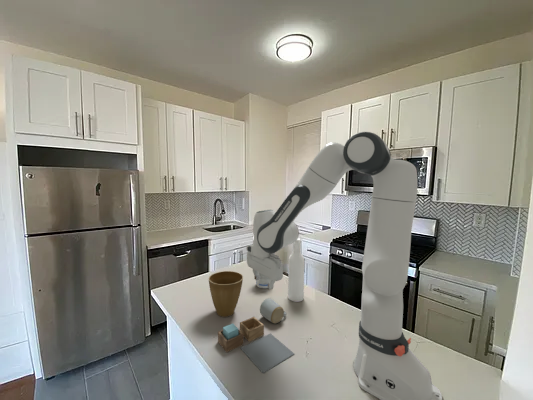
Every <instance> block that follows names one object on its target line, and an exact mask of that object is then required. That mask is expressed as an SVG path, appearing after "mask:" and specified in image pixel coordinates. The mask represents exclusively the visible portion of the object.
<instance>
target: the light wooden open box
mask: <svg viewBox="0 0 533 400" xmlns="http://www.w3.org/2000/svg"><path fill="white" fill-rule="evenodd" d="M239 330H240V331H241V332H242V333H243V338H245V339H246V341H248V342H249V343H251V342H253V340H254V341H255V339H256V340H257V339H259V338H261V337H263V336H264V335H265V325H264V323H262V322H261V321H260V320H259V319H258V318H256V317H255V316H252V317H249V318H248V319H245V320H242V321H241V322H239Z"/></svg>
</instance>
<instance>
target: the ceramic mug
mask: <svg viewBox="0 0 533 400" xmlns="http://www.w3.org/2000/svg"><path fill="white" fill-rule="evenodd" d="M259 312H260V315H261V316H262V317H263V318H265V319H266V320H268V321H269V322H270V323H272V324H278V323H280V322H281V321H282V320H283V318H286V315H287V312H286V311H285V310H284V308H283V307H282V305H280V304H279V303H277V302H276V301H275V300H274V299H272V298H271V297H270V298H269V297H268V298H265V299H264V300H263V301H262V302H261V303H260V307H259Z"/></svg>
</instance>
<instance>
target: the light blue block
mask: <svg viewBox="0 0 533 400" xmlns="http://www.w3.org/2000/svg"><path fill="white" fill-rule="evenodd" d="M238 329H239V328H238V327H237V326H236V324H234V323H230V324H228V325H225V326H223V327H222V330H223V336H224V337H225V338H226V339H227V340H229V339H231V338H233V337H236V336H238Z"/></svg>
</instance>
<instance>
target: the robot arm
mask: <svg viewBox="0 0 533 400" xmlns="http://www.w3.org/2000/svg"><path fill="white" fill-rule="evenodd" d="M349 171H354V172H355V171H356V172H358V173H361V174H364V175H365V174H366V175H368V176H371V178H372V181H373V182H372V183H373V185H372V186H373V188H372V195H371V203H370V209H369V210H370V211H369V216H368V222H367V223H368V224H367V229H366V236H365V237H366V238H365V245H364V251H363V258H362V265H361V272H362V273H361V274H362V289H361V291H362V293H361V307H360V309H361V310H360V320H359V323H358V324H359V325H358V338H359V341H358V347H357V351H356V355H355V359H354V361H353V365H352V366H353V370H354V373H355V374H356V376H357V379H358V381H357V382H358V383H357V384H358V387H359V388H360V389H362V390H364V392H367V393H369V394H370V395H372V396H373V397H375V398H377V399H379V400H443V394H442V391H441V390H440V389H439V388H438V387H437V386H436V385H435V384H434V383H433V380H432V375H431V373H430V371H429V369H428V368H427V367H426V366H425V365H424V364H423V362H421V360H420V359H419V358H418V357H417V356H416V355H415V353H414V352H413V351H412V350H411V349H410V348H409V346H410V344H411V343H412V338H411V337H409V338H408V339H407V338H406V337H405V334H404V332H403V318H404V315H403V314H404V298H403V297H404V295H403V294H404V293H403V292H404V288H405V286H406V284H407V281H408V276H409V266H410V256H411V255H410V254H411V243H412V231H413V230H412V228H413V222H414V217H415V216H414V215H415V209H416V203H417V197H418V195H417V194H418V173H417V172H418V171H417V167H416V166H415V165H414V164H413V163H411V162H410V161H407V160H403V159H395V158H393V157H392V156H391V150H390V149H389V146H388V144H387V142H386V141H385V140H384V139H383V138H382V137H380V136H379V134H377V133H374V132H371V131H362V132H358V133H355V134H353V135H351V136H350V137H349V138H348V139H347V140H346V142H345V144H342V143H338V142H329V143H326V144H325V145H324V146H323V147H322V149H321V150H319V152H318V153H317V154H316V156H314V158H313V160H312V161H311V162H310V163H309V166H307V168H306V170H305V172H304V173H303V175H302V176H301V177H300V179H299V181H298V182H297V184H296V185H295V187H293V189H292V191H291V192H290V193H289V194H288V196H286V198H285V199H284V200H283V202H282V203H281V204H280V206H279V208H278V209H276V211H275V210H274V209H265V210H259V211H257V212H256V213H254V217H253V223H252V226H253V227H252V232H253V233H252V234H253V242H252V244H250V245H246V251H247V252H246V264H247V267H249V268H251V269H252V273H253V276H254V277H253V278H254V279H253V280H255V281H256V280H259V279H260V276H259V274H258V272H259V273H261V274H263V275H264V276H266V277H268V278H269V281H270V283H268V288H267V289H269V290H272V289H274V287H275V285H274V284H275V283H276V282H278V281H279V282H280V281H281V280H282V279H283V277H284V270H283V263H282V260H281V259H280V257H279V255H276V253H277V252H278V251H280V250H281V249H283V248H286V247H288V246H290V245H293V242H295V241H296V240H297V238H299V234H300V232H299V227H298V225H297V224H296V223H295V220H296V219H297V217H298V215H300V213H301V212H303V211H304V210H305V209H306V208H308V207H310V206H312V205H314V204H316V203H318V202H320V201H323V200H325V198H326V197H327V196H329V195H330V193H332V192H333V190H334V189H335V188H336V187H337V185H338V183H339V182H340V180H341V179H342V177H343V176H344V175H346V173H348V172H349Z"/></svg>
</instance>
